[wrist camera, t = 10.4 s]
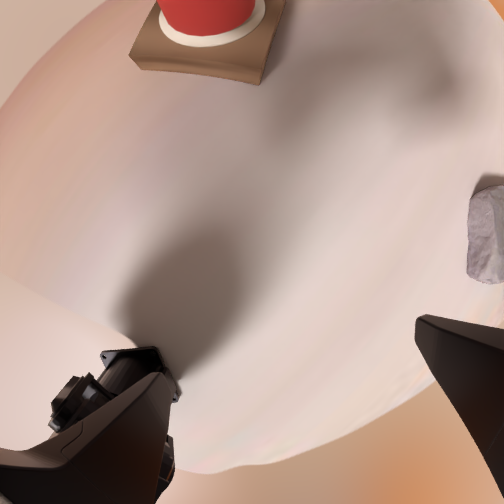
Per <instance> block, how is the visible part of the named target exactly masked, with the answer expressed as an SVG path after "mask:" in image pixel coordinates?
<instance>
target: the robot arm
mask: <svg viewBox="0 0 504 504" xmlns="http://www.w3.org/2000/svg"><path fill="white" fill-rule="evenodd" d="M415 342H416V345H417V346H418V348H419V350H420V352H421V354H422V356H423V357H424V359H425V361H426V363H427V365H428V367H429V369H430V371H431V372H432V374H433V376H434V377H435V379H436V380H437V381H438V383H439V384H440V386H441V388H442V389H443V391H444V392H445V394H446V395H447V397H448V398H449V400H450V401H451V403H452V405H453V406H454V408H455V409H456V411H457V413H458V414H459V416H460V417H461V419H462V421H463V422H464V424H465V426H466V427H467V429H468V431H469V432H470V434H471V436H472V438H473V439H474V441H475V443H476V445H477V446H478V448H479V450H480V452H481V454H482V456H484V459H485V461H486V463H487V465H488V467H489V469H490V471H491V473H492V475H493V477H494V479H495V481H496V483H497V485H498V488H499V490H500V492H501V494H502V496H503V498H504V329H500V328H495V327H489V326H484V325H479V324H473V323H468V322H463V321H458V320H453V319H448V318H443V317H438V316H433V315H428V314H425V315H423V316H420V317H418V318H417V319H416V323H415ZM152 351H154V352H155V354H154V353H152ZM104 355H105V356H106V357H105V356H104ZM100 357H101V359H102V362H103V364H104V366H105V368H106V369H105V370H104V371H103V373H102V374H101V375H100V377H99V378H98V379H97V380H95V379H94V376H93V375H91V374H90V372H89V373H88V374H87V375H86V376H85V377H84V376H82V377H81V378H80V377H76V376H73V377H72V378H71V379H70V381H69V382H68V383H67V384H66V385H65V386H64V388H63V389H62V390H61V391H60V392H59V394H58V395H57V396H56V397H55V399H54V400H53V401H52V402H51V406H52V412H53V413H52V415H51V417H52V418H51V420H50V422H49V424H48V426H50V427H51V428H52V429H53V430H54V432H53V434H52V435H51V436H50V438H49V439H48V440H47V441H45V442H43V443H41V444H39V445H37V446H35V447H33V448H30V449H28V450H23V451H14V450H8V449H3V448H0V504H155V503H156V501H157V499H158V498H159V497H160V495H161V493H162V492H163V491H164V490H165V489H166V488H167V487H168V486H169V484H170V482H171V481H172V478H173V476H174V472H175V462H174V447H173V438H172V437H171V436H169V435H167V433H168V427H169V417H170V407H171V404H172V403H176V402H178V400H179V395H178V393H177V391H176V389H177V388H176V385H175V383H174V381H173V379H172V376H171V374H170V372H169V369H168V368H167V367H166V366H165V364H164V362H163V359H162V357H161V354H160V352H159V350H158V349H157V348H156V347H143V348H132V349H121V350H107V351H102V353H101V354H100Z"/></svg>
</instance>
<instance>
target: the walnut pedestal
mask: <svg viewBox="0 0 504 504" xmlns="http://www.w3.org/2000/svg"><path fill="white" fill-rule="evenodd" d="M285 3H286V0H255V8H254V10H253V12H252V14H251V16H250V17H249V18H248V19H247V20H246V21H245V22H244V23H243V24H242V25H240V26H238V27H236V28H234V29H233V30H231V31H228V32H225V33H221V34H218V35H212V36H203V37H201V36H191V35H186V34H183V33H181V32H178V31H176V30H174V29H173V28H172V27H171V26H170V25H169V24H168V23H167V21H166V19H165V16H164V14H163V12H162V10H161V8H160V6H159V4H158V2H157V1H156V3H155V4H154V6H153V8H152V10H151V11H150V13H149V15H148V17H147V19H146V20H145V22H144V24H143V26H142V28H141V30H140V32H139V34H138V36H137V38H136V40H135V42H134V44H133V46H132V49H131V51H130V53H129V56H130V58H131V59H132V60H133V61H134V62H135V63H136V64H137V65H138V66H139V68H140V69H141V70H155V71H169V72H180V73H190V74H198V75H205V76H212V77H218V78H224V79H230V80H235V81H241V82H246V83H250V84H255V85H259V84H260V81H261V77H262V74H263V71H264V68H265V64H266V61H267V58H268V55H269V51H270V48H271V45H272V42H273V39H274V36H275V33H276V30H277V26H278V23H279V20H280V17H281V14H282V11H283V9H284V6H285Z"/></svg>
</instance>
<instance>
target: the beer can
mask: <svg viewBox="0 0 504 504" xmlns="http://www.w3.org/2000/svg"><path fill="white" fill-rule="evenodd" d="M157 2H158V4H159V6H160V8H161V10H162V12H163V14H164V16H165V19H166V21H167V23H168V24H169V25H170V26H171V27H172V28H173V29H174V30H176V31H178V32H181V33H183V34H186V35H191V36H201V37H203V36H212V35H218V34H221V33H225V32H228V31H231V30H233V29H234V28H236V27H238V26H240V25H242V24H243V23H244V22H245V21H246V20H247V19H248V18H249V17H250V16H251V14H252V12H253V10H254V8H255V0H157Z"/></svg>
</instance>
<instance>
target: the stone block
mask: <svg viewBox="0 0 504 504" xmlns="http://www.w3.org/2000/svg"><path fill="white" fill-rule="evenodd" d="M467 225H468V240H469V245H468V253H467V259H468V265H467V274H468V276H469V277H471V278H473V279H476V280H477V281H480V282H482V283H486V284H498V283H502V282H504V185H498V186H492V187H487V188H486V189H484V190H482V191H480V192H478V193H476V194H475V195H474V196H473V197H472V198H471V199H470V203H469V213H468V220H467Z"/></svg>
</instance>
